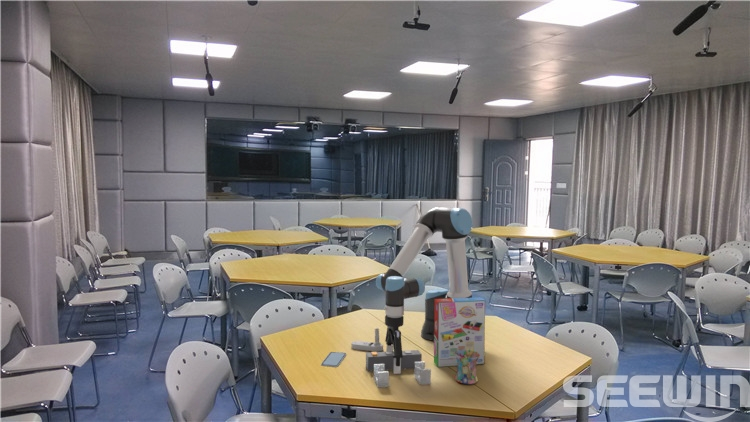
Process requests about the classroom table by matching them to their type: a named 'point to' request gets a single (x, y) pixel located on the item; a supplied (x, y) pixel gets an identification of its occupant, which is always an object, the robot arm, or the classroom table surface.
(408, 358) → the power strip
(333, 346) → the classroom table surface
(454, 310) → the game box
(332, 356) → the smartphone
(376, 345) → the electronic device
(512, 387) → the classroom table surface
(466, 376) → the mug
